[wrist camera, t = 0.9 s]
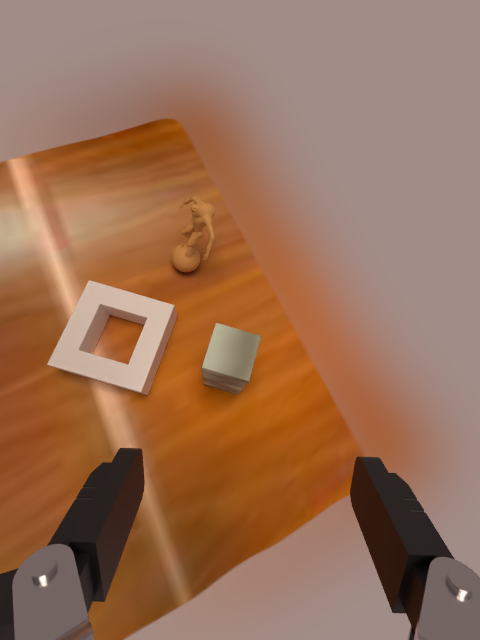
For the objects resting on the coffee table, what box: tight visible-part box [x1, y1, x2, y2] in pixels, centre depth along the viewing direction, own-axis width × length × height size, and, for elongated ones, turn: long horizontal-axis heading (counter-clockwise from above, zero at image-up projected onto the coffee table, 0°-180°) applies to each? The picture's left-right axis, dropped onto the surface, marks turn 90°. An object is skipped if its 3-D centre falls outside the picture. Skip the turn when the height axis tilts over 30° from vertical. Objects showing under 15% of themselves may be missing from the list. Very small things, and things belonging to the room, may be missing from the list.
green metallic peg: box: [202, 323, 261, 394], centre depth 35 cm, size 4×4×12 cm
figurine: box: [171, 196, 215, 272], centre depth 40 cm, size 8×6×12 cm
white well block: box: [47, 280, 177, 396], centre depth 39 cm, size 11×11×4 cm
